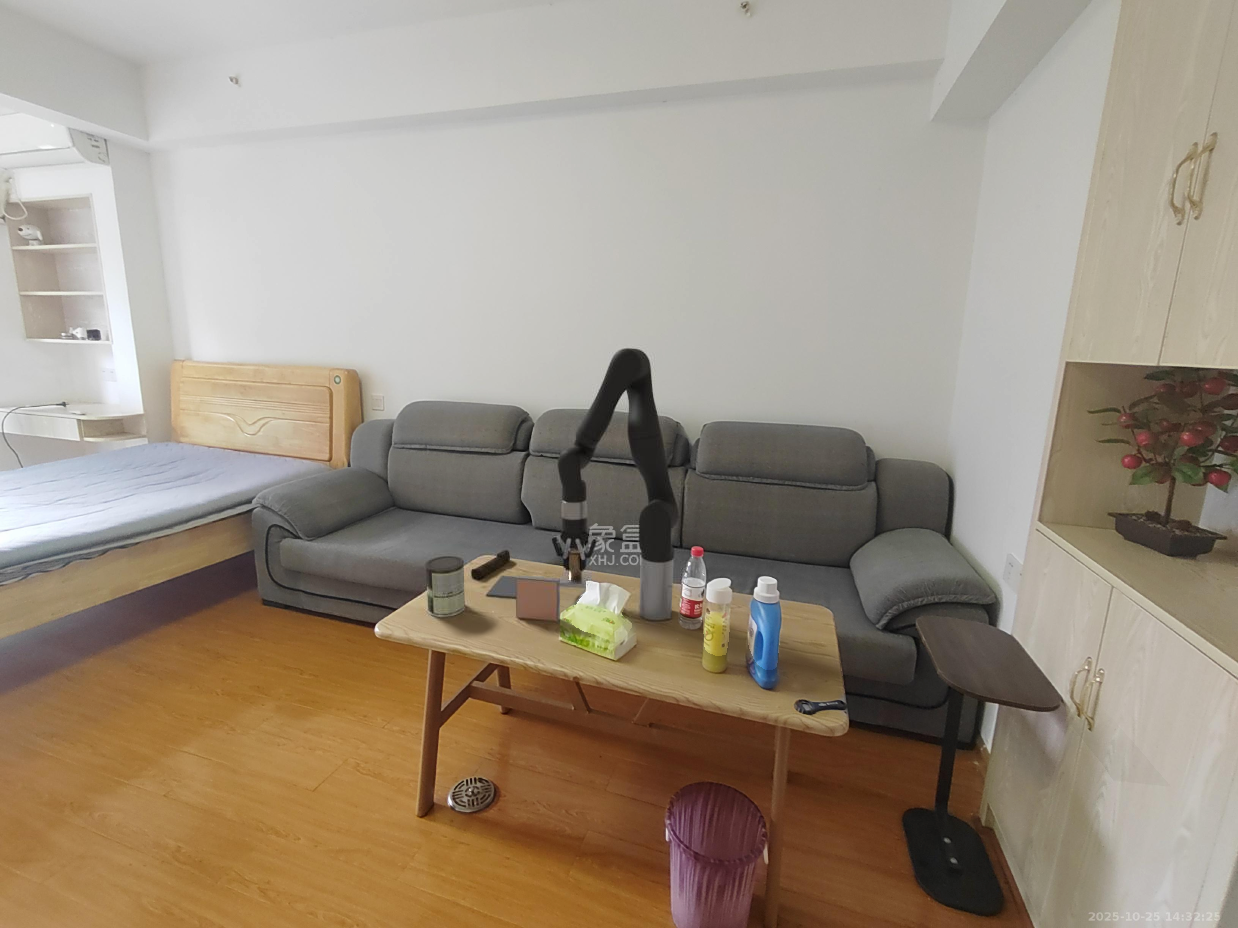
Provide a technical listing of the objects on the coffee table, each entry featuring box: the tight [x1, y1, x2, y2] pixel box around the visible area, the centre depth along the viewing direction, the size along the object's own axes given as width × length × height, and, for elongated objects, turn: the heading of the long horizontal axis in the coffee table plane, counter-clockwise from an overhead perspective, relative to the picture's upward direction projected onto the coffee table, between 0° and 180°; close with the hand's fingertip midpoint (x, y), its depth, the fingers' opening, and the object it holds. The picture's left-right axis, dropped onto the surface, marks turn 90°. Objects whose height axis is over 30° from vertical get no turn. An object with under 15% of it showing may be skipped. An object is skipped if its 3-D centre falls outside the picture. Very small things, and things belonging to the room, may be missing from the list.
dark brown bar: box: [470, 549, 511, 581], centre depth 186 cm, size 19×4×5 cm, turn 154°
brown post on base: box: [560, 549, 592, 589], centre depth 166 cm, size 8×8×9 cm
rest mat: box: [485, 575, 517, 599], centre depth 173 cm, size 14×14×1 cm
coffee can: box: [424, 555, 466, 618], centre depth 157 cm, size 10×10×14 cm
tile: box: [515, 574, 561, 622], centre depth 153 cm, size 12×2×12 cm, turn 83°
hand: (574, 569), depth 166 cm, fingers closed on brown post on base, 4 cm apart
